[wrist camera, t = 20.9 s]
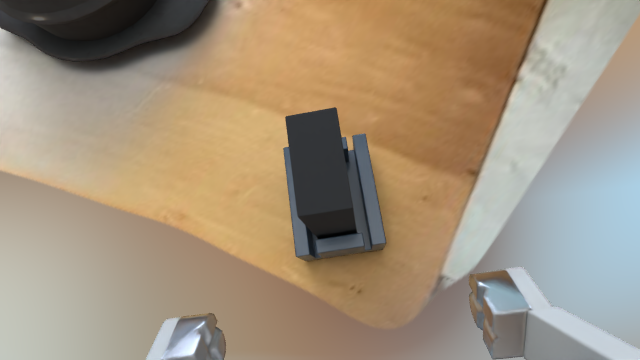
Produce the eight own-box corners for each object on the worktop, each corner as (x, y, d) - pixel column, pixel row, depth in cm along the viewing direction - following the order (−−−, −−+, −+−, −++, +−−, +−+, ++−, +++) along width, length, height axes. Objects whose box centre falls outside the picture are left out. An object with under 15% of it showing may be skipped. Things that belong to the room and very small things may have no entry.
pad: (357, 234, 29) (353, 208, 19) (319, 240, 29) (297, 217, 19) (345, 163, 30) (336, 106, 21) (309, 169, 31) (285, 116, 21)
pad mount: (383, 249, 29) (386, 243, 25) (305, 261, 30) (295, 256, 26) (365, 152, 32) (365, 133, 28) (293, 165, 32) (283, 147, 28)
